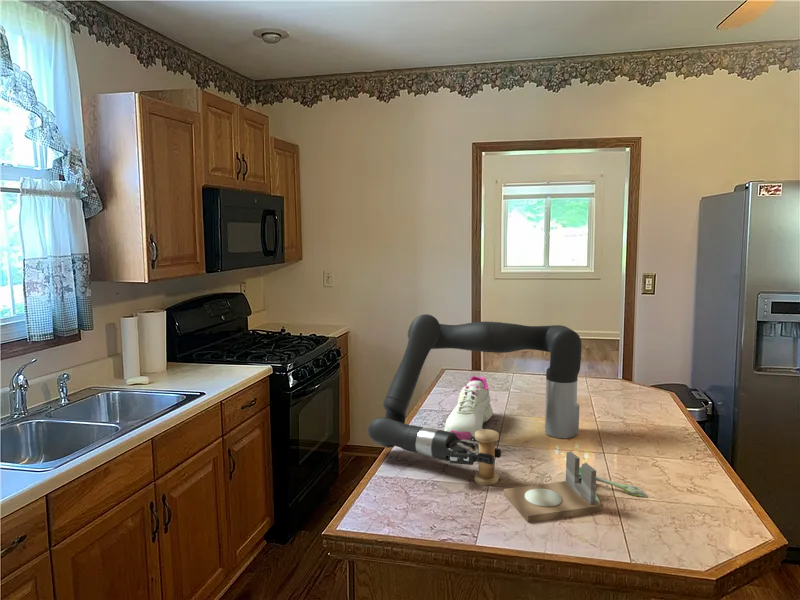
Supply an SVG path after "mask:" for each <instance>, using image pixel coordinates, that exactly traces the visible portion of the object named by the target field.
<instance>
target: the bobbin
mask: <svg viewBox="0 0 800 600" xmlns="http://www.w3.org/2000/svg"><path fill="white" fill-rule="evenodd" d="M475 439H476V440H477V441H479V453H484V454H489V455H493V456H494V463H493V464H492V465H491V464H486V463H482V462H478V470H477V471H476V472H475V473H474V482H475V481H476V482H477V484H478V485H480V484H481V486H486V485H490V486H494V484H495V485H497V484H498V483H499V474H498V473H497V472H495V466H496V465H495V460H496V459H495V458H496V457H495V448H496V443H497V442H499V439H500V433H499V432H498V431H497V430H494V429H487V428H486V429H484V428H483V429H482V430H478V431H476V432H475ZM476 482H475V483H476Z"/></svg>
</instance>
